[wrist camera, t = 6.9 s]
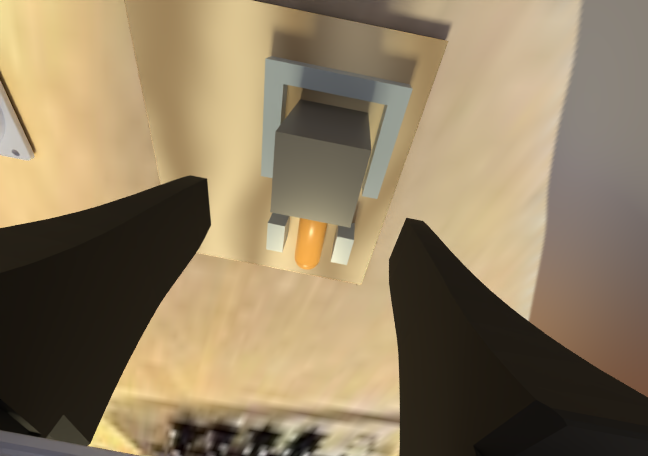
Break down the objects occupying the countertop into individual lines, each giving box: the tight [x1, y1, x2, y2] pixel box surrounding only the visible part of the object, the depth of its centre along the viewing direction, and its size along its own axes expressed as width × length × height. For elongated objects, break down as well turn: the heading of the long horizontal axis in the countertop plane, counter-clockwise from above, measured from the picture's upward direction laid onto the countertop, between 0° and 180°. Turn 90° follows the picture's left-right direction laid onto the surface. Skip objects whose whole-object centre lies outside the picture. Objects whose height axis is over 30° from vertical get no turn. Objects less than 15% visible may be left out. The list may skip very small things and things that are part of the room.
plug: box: [270, 99, 371, 270], centre depth 18 cm, size 4×12×6 cm, turn 171°
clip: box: [266, 213, 355, 265], centre depth 21 cm, size 6×2×2 cm, turn 81°
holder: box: [261, 56, 413, 199], centre depth 17 cm, size 8×7×1 cm
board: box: [124, 0, 448, 285], centre depth 20 cm, size 16×18×1 cm
